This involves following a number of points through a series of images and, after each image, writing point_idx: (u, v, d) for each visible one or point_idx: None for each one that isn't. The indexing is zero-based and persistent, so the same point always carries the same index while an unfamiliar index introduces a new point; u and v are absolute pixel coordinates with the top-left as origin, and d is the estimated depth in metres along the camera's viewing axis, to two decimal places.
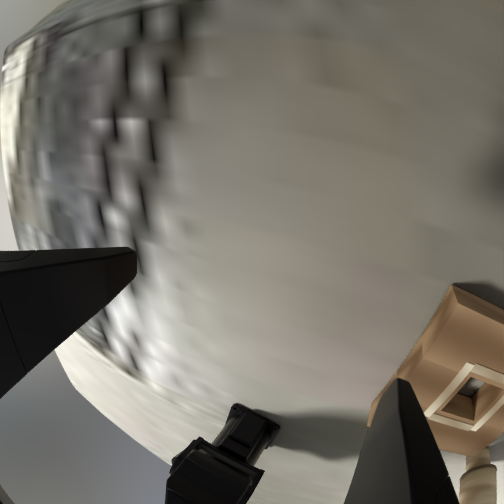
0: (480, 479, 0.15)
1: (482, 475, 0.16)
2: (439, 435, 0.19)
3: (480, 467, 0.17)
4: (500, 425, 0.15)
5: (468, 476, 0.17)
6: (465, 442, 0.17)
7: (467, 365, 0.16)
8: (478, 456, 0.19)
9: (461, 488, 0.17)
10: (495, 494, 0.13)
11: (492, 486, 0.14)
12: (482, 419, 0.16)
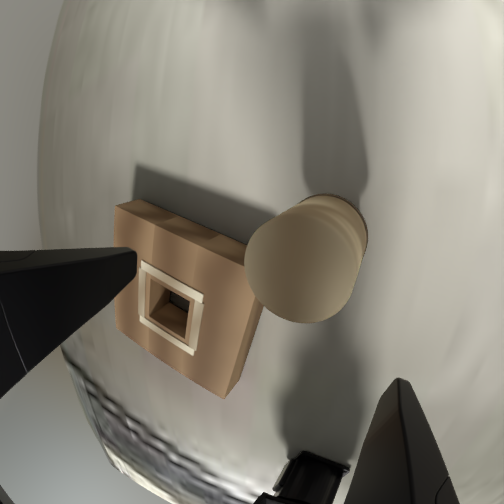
0: None
1: None
2: (218, 337, 0.22)
3: None
4: (192, 259, 0.21)
5: None
6: (227, 301, 0.21)
7: (142, 319, 0.26)
8: None
9: None
10: None
11: None
12: (185, 291, 0.22)
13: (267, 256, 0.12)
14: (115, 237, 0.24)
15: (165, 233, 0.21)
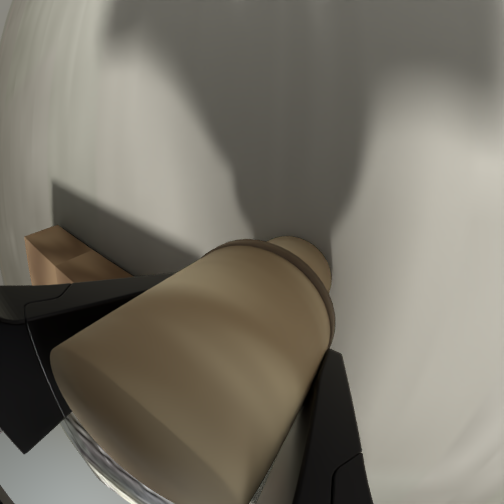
0: None
1: None
2: None
3: None
4: None
5: None
6: None
7: None
8: None
9: None
10: None
11: None
12: None
13: (80, 404, 0.05)
14: (31, 274, 0.17)
15: (65, 278, 0.14)
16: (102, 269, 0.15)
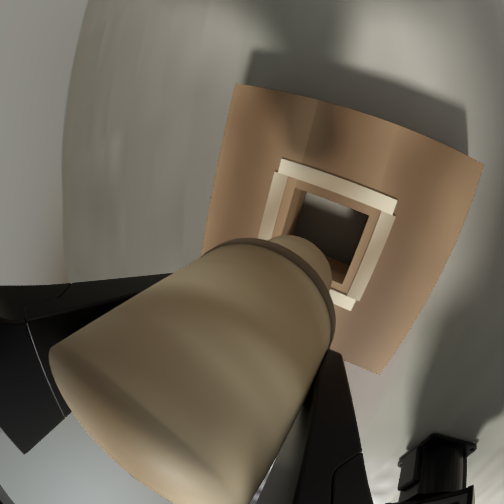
0: None
1: None
2: (407, 269, 0.14)
3: None
4: (384, 146, 0.13)
5: None
6: (433, 207, 0.13)
7: None
8: None
9: None
10: None
11: None
12: (364, 199, 0.14)
13: (79, 403, 0.04)
14: (228, 132, 0.16)
15: (338, 110, 0.13)
16: None
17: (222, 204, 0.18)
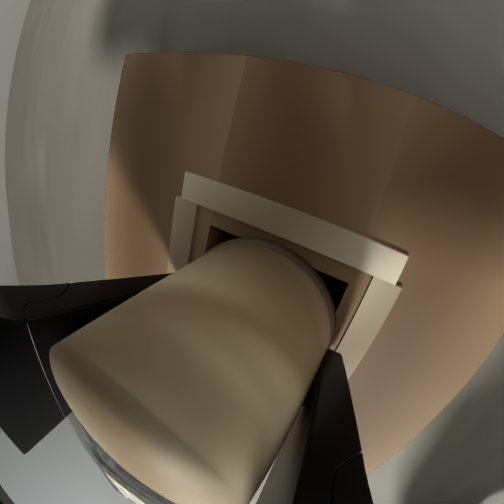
0: None
1: None
2: (413, 374, 0.07)
3: None
4: (385, 140, 0.06)
5: None
6: (478, 270, 0.06)
7: None
8: None
9: None
10: None
11: None
12: (340, 252, 0.07)
13: (79, 403, 0.04)
14: (116, 132, 0.09)
15: (285, 71, 0.06)
16: None
17: (117, 246, 0.11)
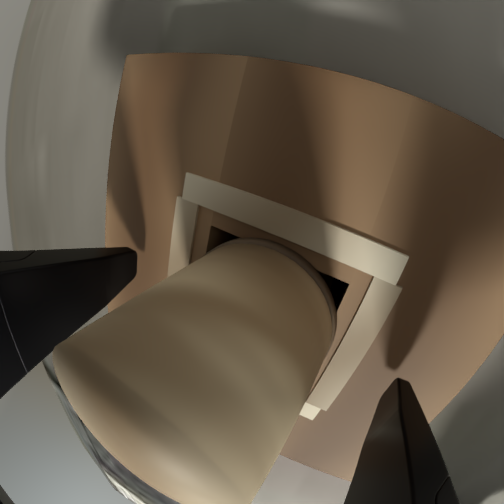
0: None
1: None
2: (413, 374, 0.07)
3: None
4: (385, 141, 0.06)
5: None
6: (478, 271, 0.06)
7: None
8: None
9: None
10: None
11: None
12: (340, 253, 0.07)
13: (83, 402, 0.05)
14: (117, 133, 0.09)
15: (286, 72, 0.06)
16: None
17: None
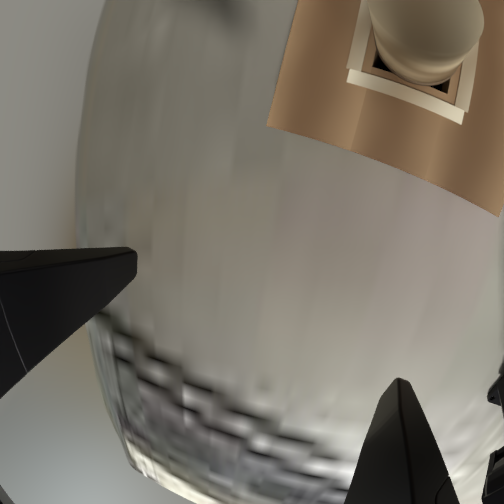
0: (380, 46, 0.10)
1: (378, 46, 0.10)
2: (502, 81, 0.09)
3: (380, 57, 0.11)
4: None
5: (403, 74, 0.11)
6: None
7: (352, 78, 0.13)
8: None
9: (429, 76, 0.10)
10: None
11: None
12: None
13: None
14: None
15: None
16: None
17: (306, 24, 0.13)
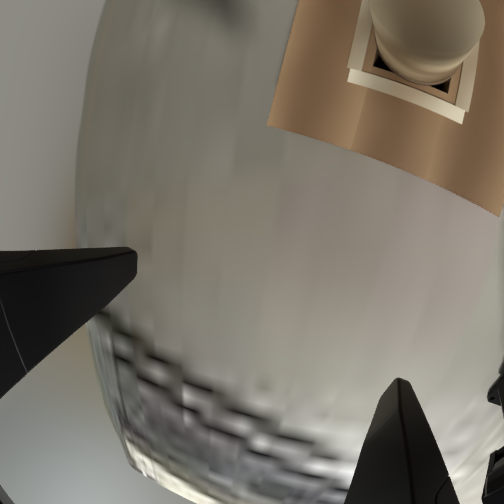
0: (380, 46, 0.10)
1: (379, 45, 0.10)
2: (503, 81, 0.09)
3: (381, 57, 0.11)
4: None
5: (403, 74, 0.11)
6: None
7: (353, 78, 0.13)
8: None
9: (430, 76, 0.10)
10: None
11: None
12: None
13: None
14: None
15: None
16: None
17: (307, 24, 0.13)
